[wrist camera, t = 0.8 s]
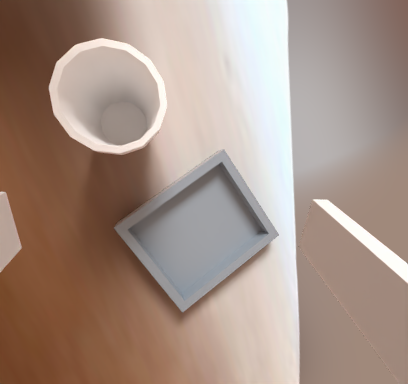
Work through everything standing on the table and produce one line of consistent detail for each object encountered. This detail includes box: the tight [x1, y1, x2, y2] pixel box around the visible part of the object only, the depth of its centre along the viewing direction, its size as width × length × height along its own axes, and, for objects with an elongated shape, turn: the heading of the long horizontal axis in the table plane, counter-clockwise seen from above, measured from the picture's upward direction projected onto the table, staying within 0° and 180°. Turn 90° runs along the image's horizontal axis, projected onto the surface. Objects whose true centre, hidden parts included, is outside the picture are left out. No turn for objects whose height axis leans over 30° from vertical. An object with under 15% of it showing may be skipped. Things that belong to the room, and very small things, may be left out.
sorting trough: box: [114, 150, 279, 313], centre depth 35 cm, size 15×18×3 cm
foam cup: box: [49, 38, 167, 155], centre depth 27 cm, size 10×9×13 cm
